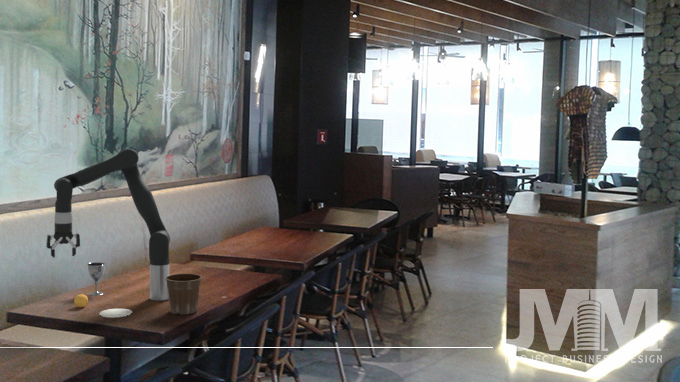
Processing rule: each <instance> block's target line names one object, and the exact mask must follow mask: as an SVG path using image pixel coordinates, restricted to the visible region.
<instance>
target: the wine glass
mask: <svg viewBox="0 0 680 382" xmlns="http://www.w3.org/2000/svg"><path fill="white" fill-rule="evenodd" d="M105 266H106V265H105V262H98V261H97V262H89V263H87V272H88V275H89V277H90V278H91V279H92V281H93V283H94V288H95V289H94V291H93V292H90V293H88V296H96V297H97V296H103V295H105V294H104V292H103V291H99V290H98V285H99V284H98V283H99V281H100V280H101V278H102V277H103V276H104V273H105Z"/></svg>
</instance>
